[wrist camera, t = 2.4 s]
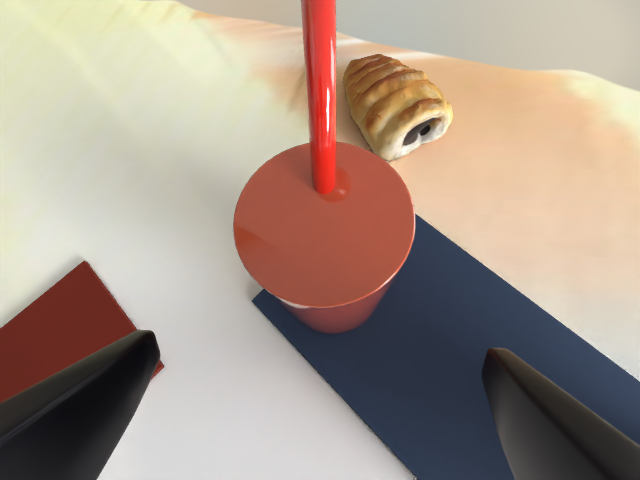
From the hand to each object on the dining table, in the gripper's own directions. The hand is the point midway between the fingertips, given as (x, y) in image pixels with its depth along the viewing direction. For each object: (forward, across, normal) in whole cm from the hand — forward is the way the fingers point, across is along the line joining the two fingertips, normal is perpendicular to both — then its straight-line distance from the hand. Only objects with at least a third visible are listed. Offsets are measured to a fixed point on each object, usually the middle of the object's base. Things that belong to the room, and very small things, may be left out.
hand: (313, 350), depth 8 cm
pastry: (+21, -4, -5) cm, 22 cm away
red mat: (+7, +17, +9) cm, 21 cm away
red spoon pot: (+12, 0, +4) cm, 12 cm away
